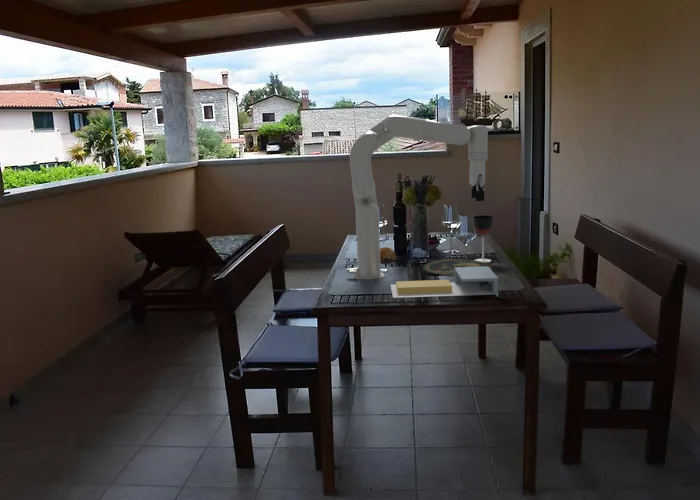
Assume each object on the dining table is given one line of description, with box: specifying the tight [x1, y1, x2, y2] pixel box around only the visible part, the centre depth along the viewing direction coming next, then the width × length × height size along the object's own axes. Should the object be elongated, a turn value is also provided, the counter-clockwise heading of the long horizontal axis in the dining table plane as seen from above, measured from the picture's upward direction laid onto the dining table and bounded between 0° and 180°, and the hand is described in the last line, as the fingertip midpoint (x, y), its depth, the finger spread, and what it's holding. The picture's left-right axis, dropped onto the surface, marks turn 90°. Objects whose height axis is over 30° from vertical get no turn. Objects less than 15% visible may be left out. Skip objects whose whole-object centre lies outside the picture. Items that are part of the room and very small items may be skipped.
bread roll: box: [380, 246, 397, 263], centre depth 285 cm, size 10×10×8 cm
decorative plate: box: [422, 258, 494, 277], centre depth 261 cm, size 30×2×30 cm
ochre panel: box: [395, 279, 452, 294], centre depth 229 cm, size 20×9×2 cm, turn 89°
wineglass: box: [472, 215, 494, 263], centre depth 274 cm, size 8×9×20 cm
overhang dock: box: [390, 266, 499, 299], centre depth 228 cm, size 38×18×7 cm, turn 89°
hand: (477, 199), depth 247 cm, fingers open, 9 cm apart
